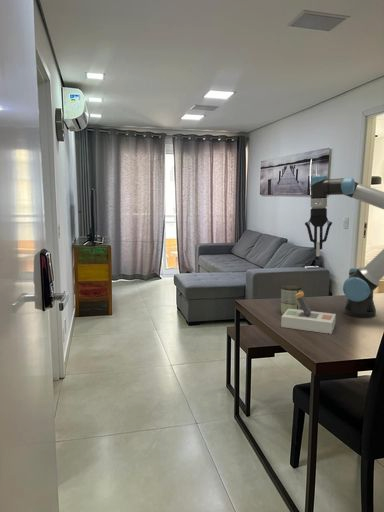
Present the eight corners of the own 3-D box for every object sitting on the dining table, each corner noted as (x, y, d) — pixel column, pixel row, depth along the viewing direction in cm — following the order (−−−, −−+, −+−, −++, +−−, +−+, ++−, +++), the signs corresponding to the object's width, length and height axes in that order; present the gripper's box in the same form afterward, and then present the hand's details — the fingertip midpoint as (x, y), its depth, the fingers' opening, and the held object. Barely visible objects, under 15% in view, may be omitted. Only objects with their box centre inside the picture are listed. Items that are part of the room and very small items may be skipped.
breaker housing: (335, 324, 179) (335, 313, 178) (331, 333, 167) (331, 322, 166) (288, 318, 189) (288, 308, 188) (281, 326, 176) (281, 316, 176)
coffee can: (279, 309, 204) (279, 283, 201) (299, 309, 203) (299, 283, 200) (281, 315, 193) (282, 288, 191) (302, 315, 192) (303, 288, 190)
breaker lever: (312, 311, 179) (302, 290, 179) (310, 315, 174) (300, 293, 174) (307, 313, 180) (297, 292, 181) (305, 316, 175) (295, 295, 176)
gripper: (303, 208, 184) (303, 256, 188) (332, 207, 179) (331, 257, 183) (305, 207, 191) (305, 254, 195) (333, 207, 186) (332, 255, 189)
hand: (318, 255), depth 189 cm, fingers closed
